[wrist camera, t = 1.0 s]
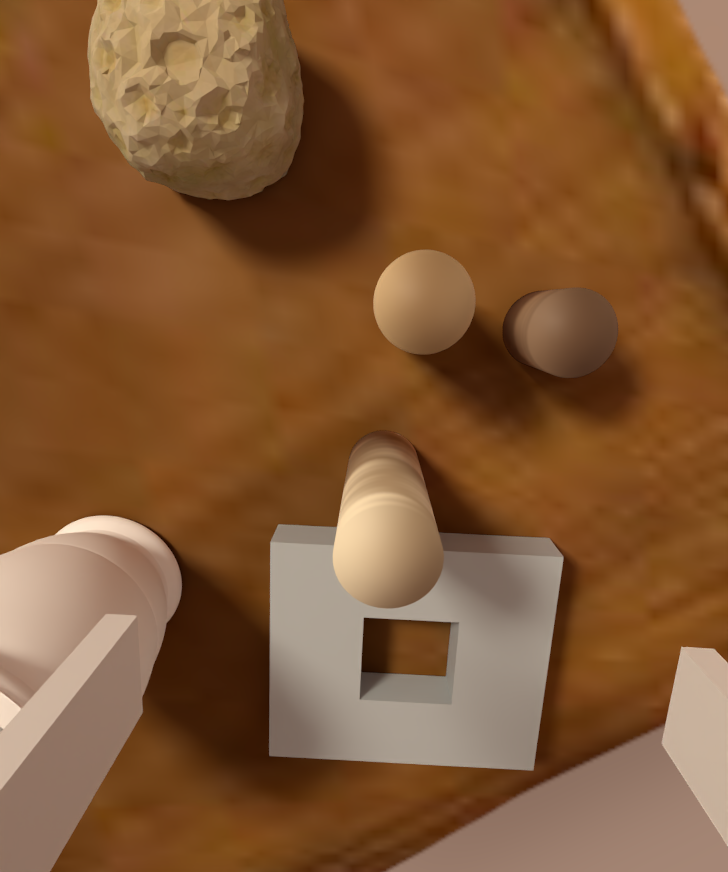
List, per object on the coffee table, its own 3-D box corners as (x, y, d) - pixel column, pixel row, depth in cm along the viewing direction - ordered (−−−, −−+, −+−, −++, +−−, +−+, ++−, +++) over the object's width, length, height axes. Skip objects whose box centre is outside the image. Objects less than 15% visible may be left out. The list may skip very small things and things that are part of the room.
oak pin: (372, 339, 30) (370, 352, 22) (375, 263, 29) (375, 247, 21) (445, 343, 30) (470, 356, 22) (451, 266, 29) (480, 252, 21)
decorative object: (183, 213, 32) (212, 278, 25) (34, 24, 25) (13, 39, 18) (312, 116, 31) (380, 154, 24) (197, -104, 24) (244, -142, 17)
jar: (200, 502, 32) (54, 667, 17) (201, 657, 34) (74, 914, 20) (20, 491, 32) (-275, 645, 18) (34, 645, 34) (-215, 895, 20)
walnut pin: (498, 364, 30) (523, 375, 25) (506, 289, 29) (533, 285, 24) (571, 368, 30) (610, 380, 25) (581, 292, 29) (624, 289, 24)
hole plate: (276, 725, 35) (269, 755, 33) (278, 524, 32) (270, 542, 30) (522, 738, 35) (533, 770, 33) (549, 538, 32) (563, 557, 30)
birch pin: (347, 495, 32) (330, 605, 20) (350, 428, 31) (334, 503, 19) (415, 499, 32) (439, 611, 20) (420, 432, 31) (448, 509, 19)
